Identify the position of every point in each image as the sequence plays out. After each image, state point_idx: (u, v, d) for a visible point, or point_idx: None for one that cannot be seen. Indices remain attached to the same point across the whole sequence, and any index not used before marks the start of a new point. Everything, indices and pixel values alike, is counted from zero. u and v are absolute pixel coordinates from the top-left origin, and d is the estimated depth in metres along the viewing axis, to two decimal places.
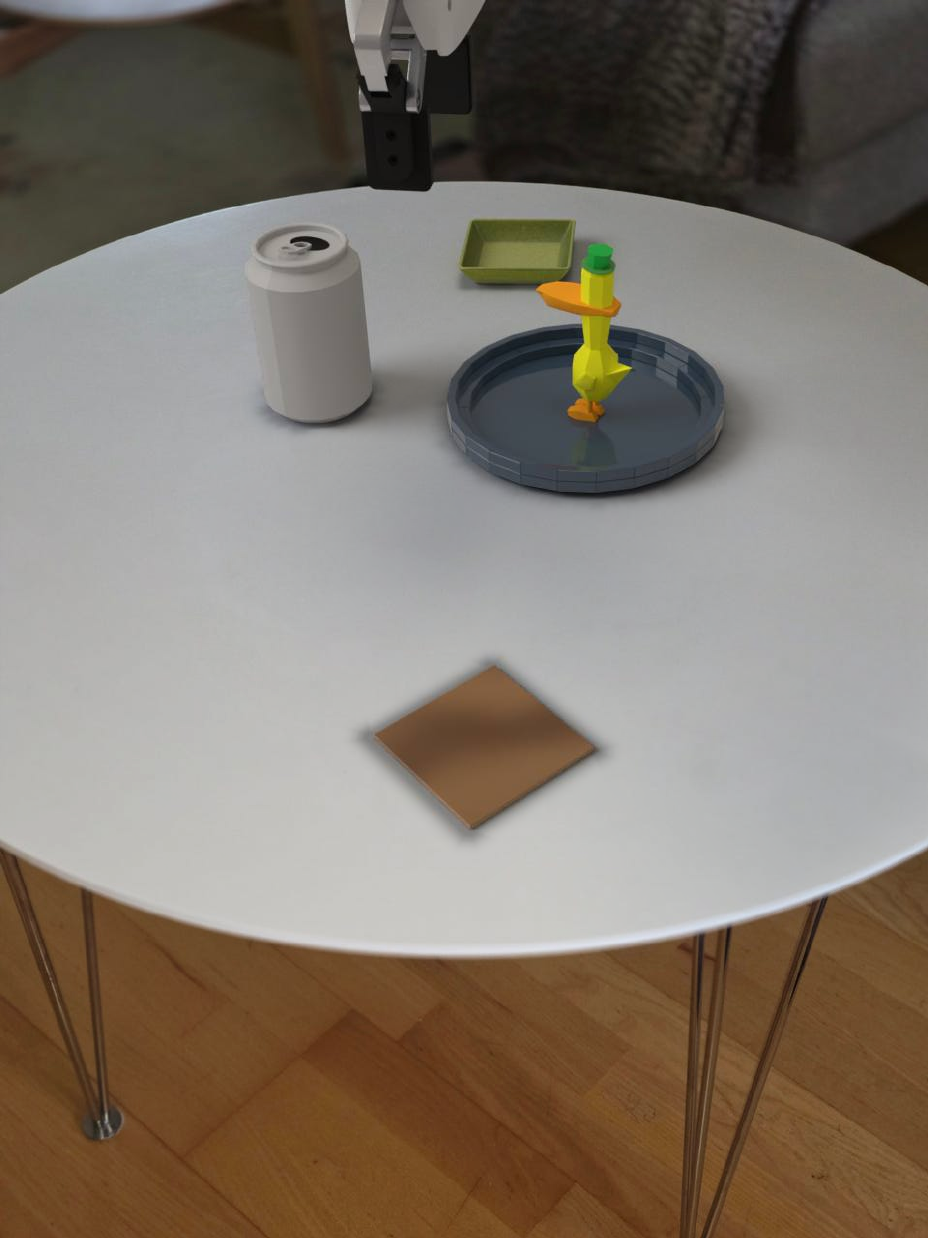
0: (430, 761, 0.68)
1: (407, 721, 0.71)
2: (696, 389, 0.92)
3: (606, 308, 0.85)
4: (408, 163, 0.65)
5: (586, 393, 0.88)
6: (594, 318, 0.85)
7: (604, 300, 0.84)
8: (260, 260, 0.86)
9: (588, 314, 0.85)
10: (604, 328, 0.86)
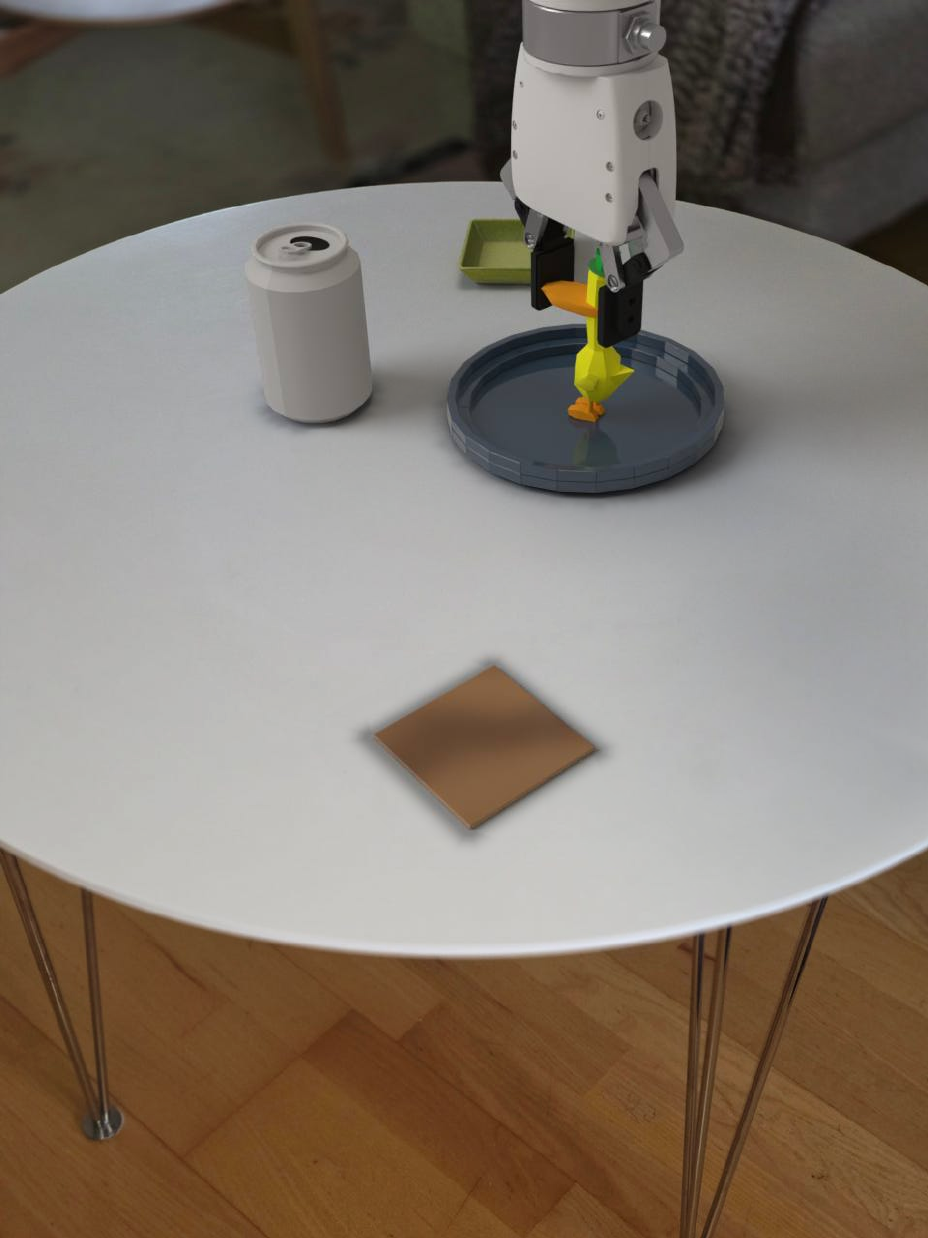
0: (430, 761, 0.68)
1: (407, 721, 0.71)
2: (696, 389, 0.92)
3: None
4: (639, 316, 0.84)
5: (588, 394, 0.88)
6: None
7: None
8: (260, 260, 0.86)
9: (593, 316, 0.85)
10: None
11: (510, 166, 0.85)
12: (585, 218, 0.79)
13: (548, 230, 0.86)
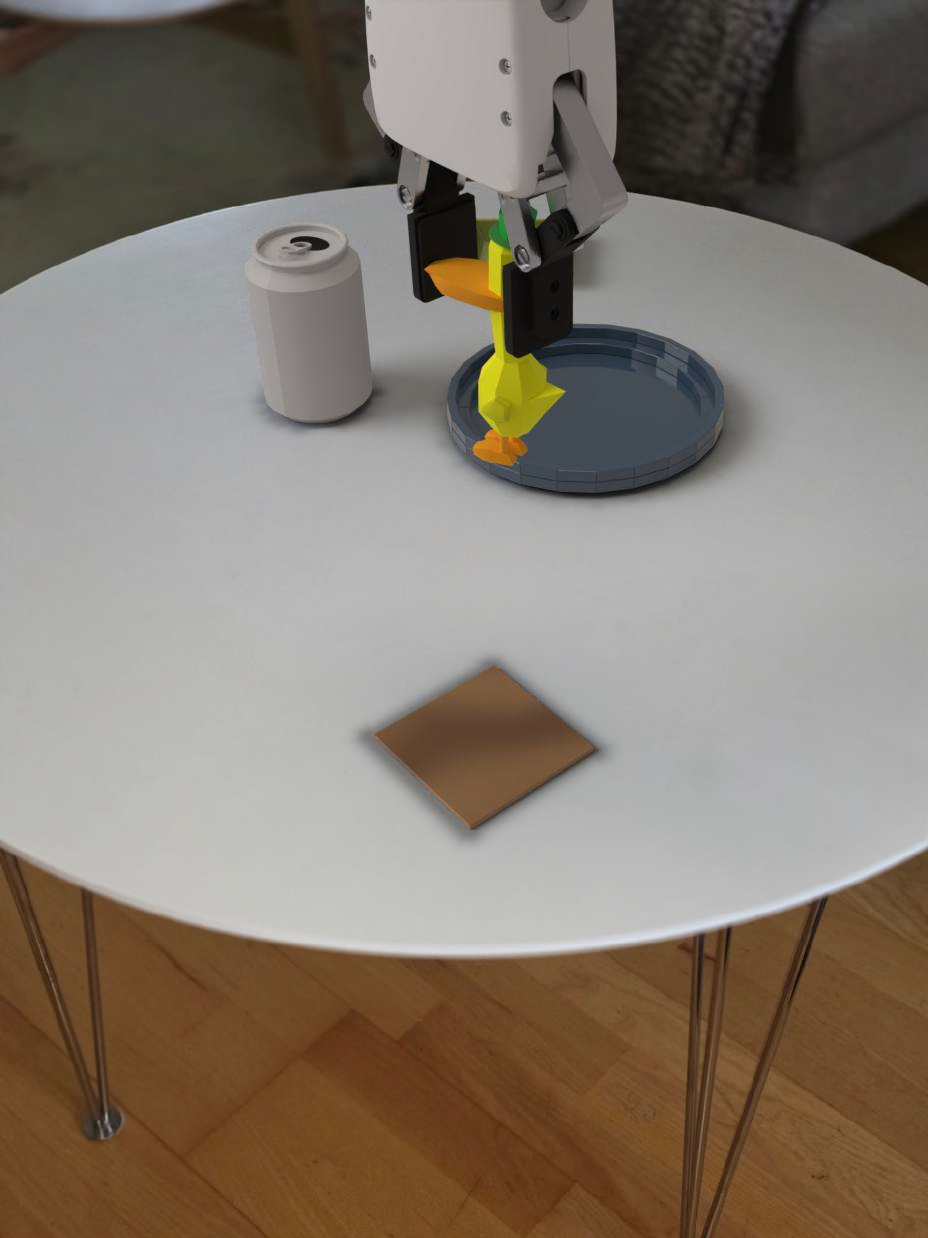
0: (430, 761, 0.68)
1: (407, 721, 0.71)
2: (696, 389, 0.92)
3: None
4: (568, 310, 0.55)
5: (498, 426, 0.60)
6: None
7: None
8: (260, 260, 0.86)
9: (499, 310, 0.56)
10: None
11: None
12: (475, 155, 0.50)
13: (433, 181, 0.57)
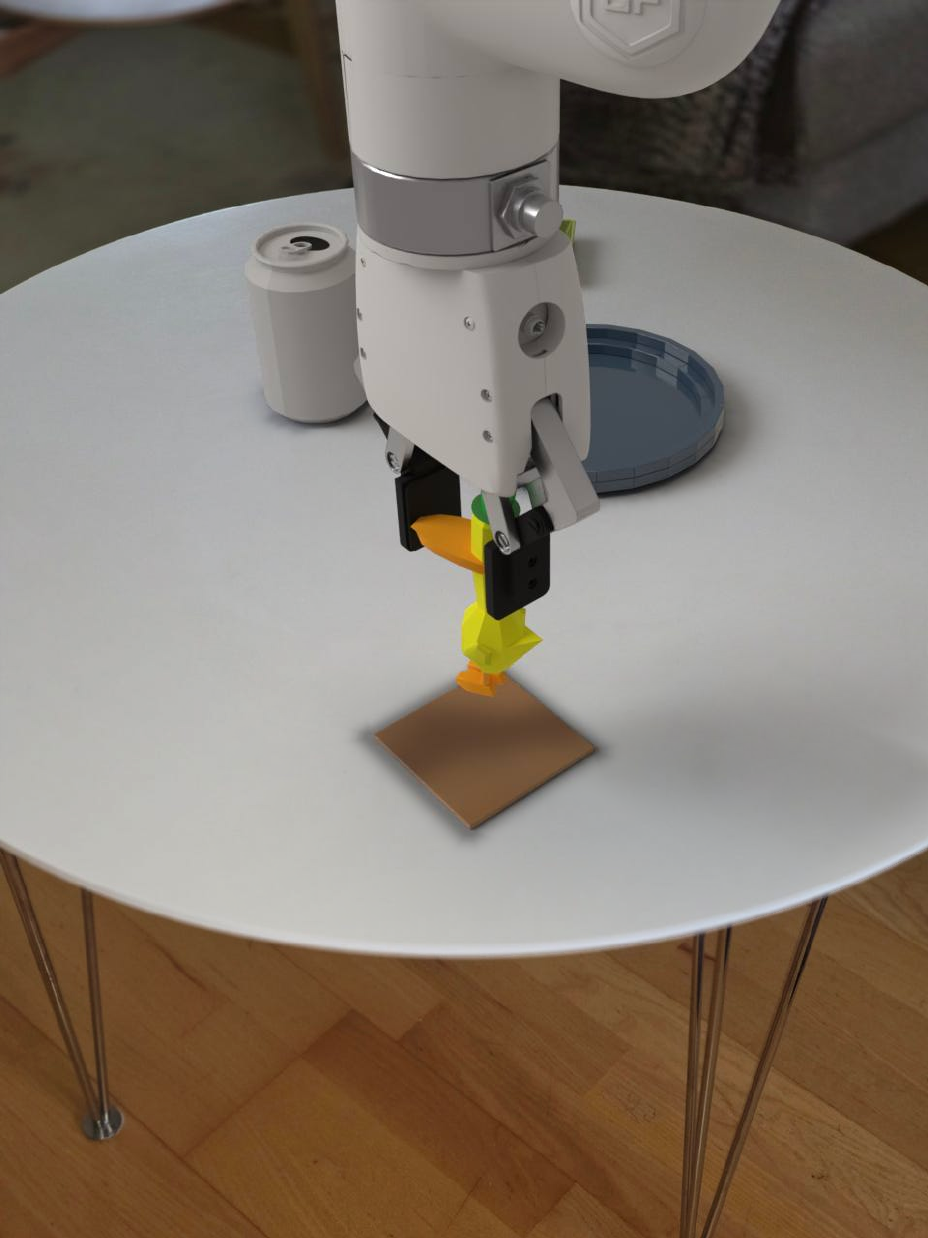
0: (430, 761, 0.68)
1: (407, 721, 0.71)
2: (696, 389, 0.92)
3: None
4: (545, 578, 0.59)
5: (479, 666, 0.63)
6: None
7: None
8: (260, 260, 0.86)
9: (481, 573, 0.60)
10: None
11: None
12: (458, 456, 0.54)
13: (419, 448, 0.61)
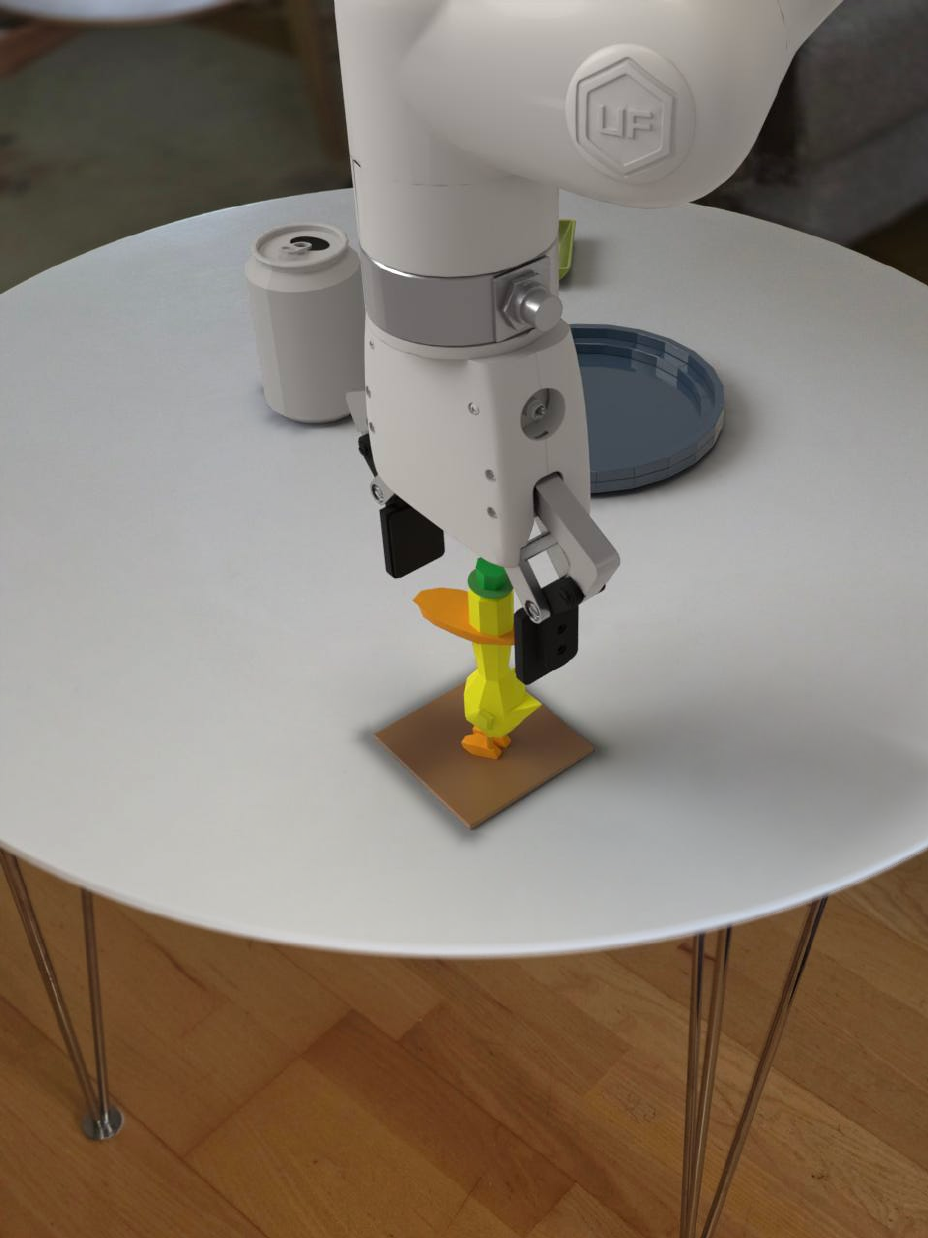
0: (430, 761, 0.68)
1: (407, 721, 0.71)
2: (696, 389, 0.92)
3: (503, 636, 0.63)
4: (574, 644, 0.59)
5: (482, 731, 0.66)
6: (488, 647, 0.63)
7: (500, 627, 0.62)
8: (260, 260, 0.86)
9: (479, 643, 0.63)
10: (502, 657, 0.64)
11: (360, 398, 0.62)
12: (464, 529, 0.56)
13: None
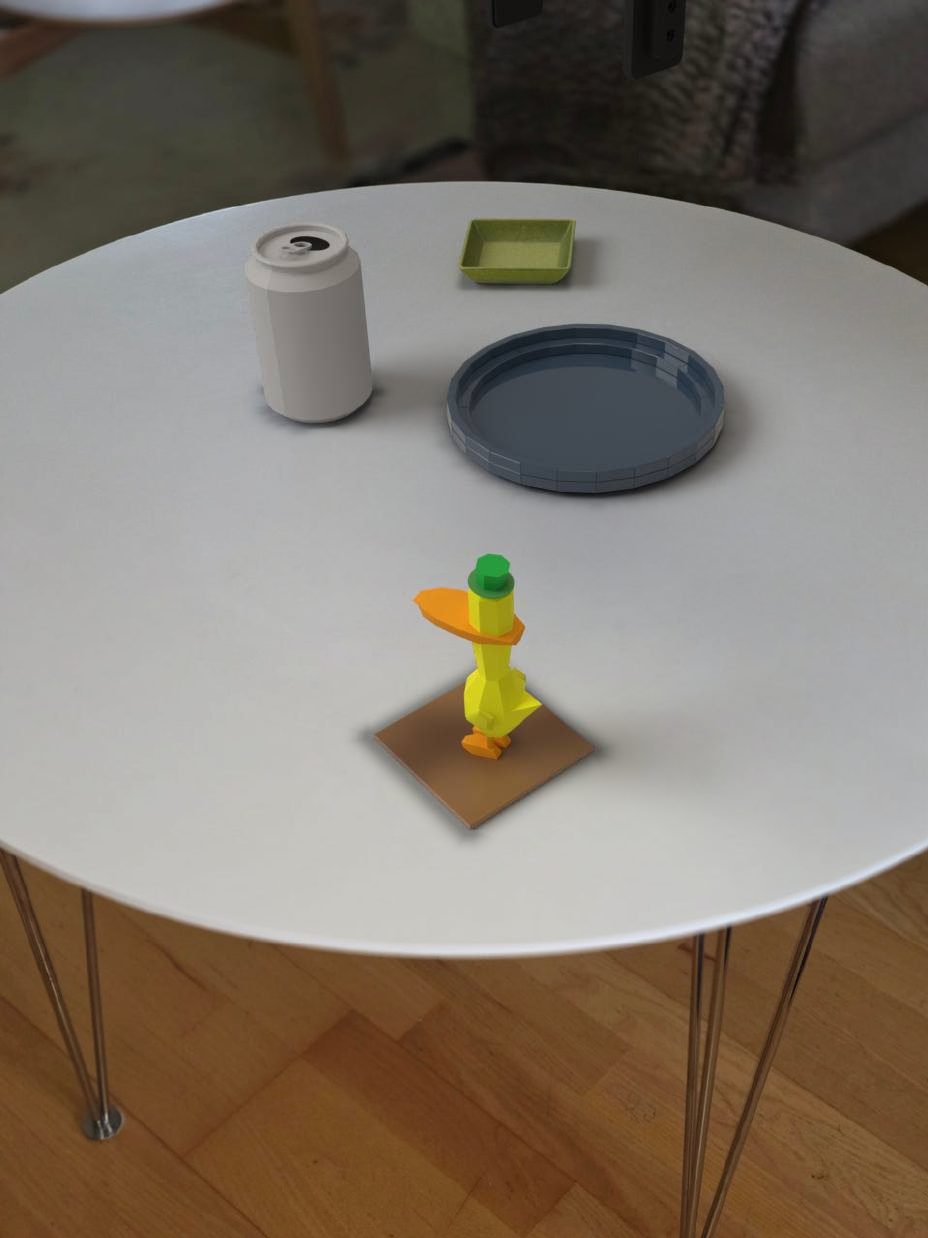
0: (430, 761, 0.68)
1: (407, 721, 0.71)
2: (696, 389, 0.92)
3: (503, 636, 0.63)
4: (681, 33, 0.60)
5: (482, 731, 0.66)
6: (488, 647, 0.63)
7: (500, 627, 0.62)
8: (260, 260, 0.86)
9: (479, 643, 0.63)
10: (502, 657, 0.64)
11: None
12: None
13: None
